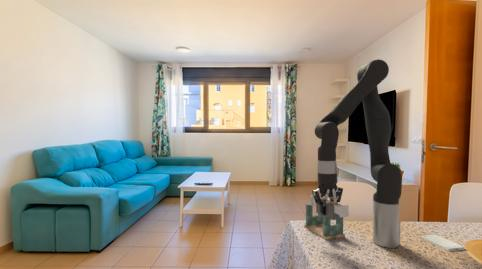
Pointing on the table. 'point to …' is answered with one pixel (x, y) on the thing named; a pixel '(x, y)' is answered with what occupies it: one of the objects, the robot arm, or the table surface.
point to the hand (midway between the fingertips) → (328, 213)
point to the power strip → (332, 209)
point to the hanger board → (323, 225)
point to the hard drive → (442, 242)
